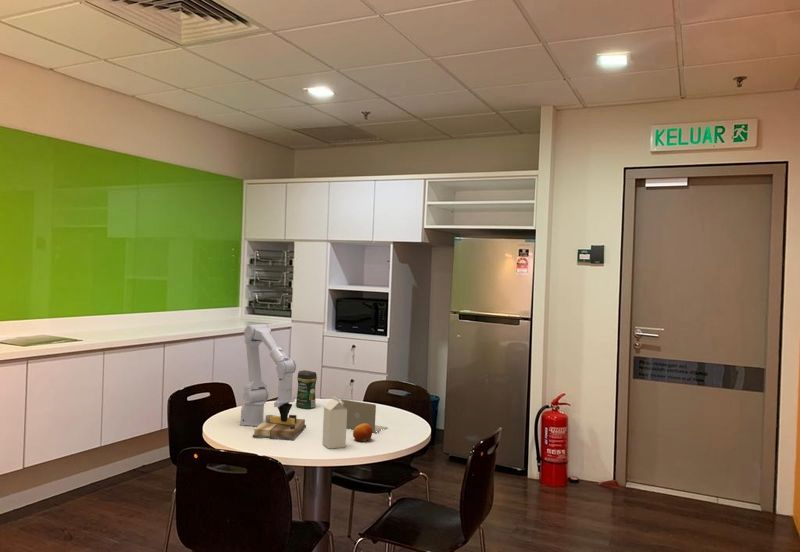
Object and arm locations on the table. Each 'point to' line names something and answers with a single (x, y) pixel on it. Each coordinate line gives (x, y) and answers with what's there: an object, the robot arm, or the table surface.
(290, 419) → the bar
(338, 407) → the milk carton
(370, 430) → the fruit
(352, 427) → the laptop
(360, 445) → the table surface
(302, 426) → the wooden board with knob
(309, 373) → the coffee jar
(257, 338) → the robot arm
